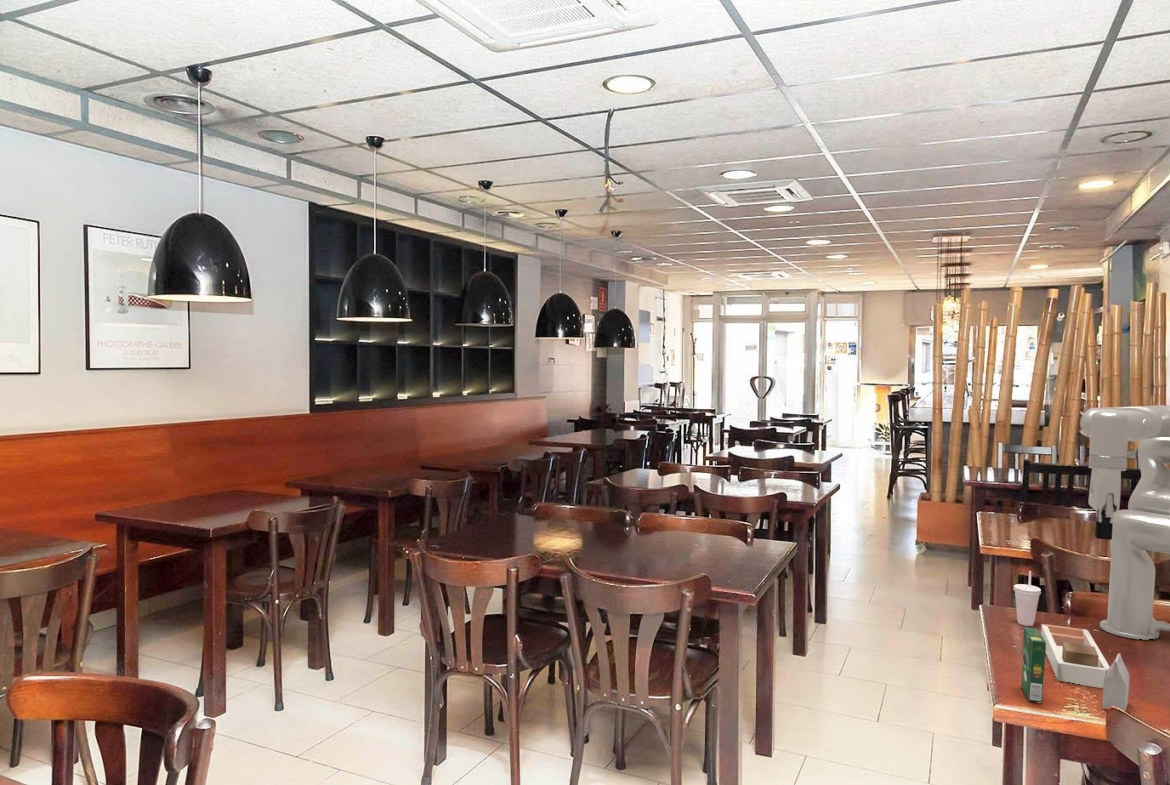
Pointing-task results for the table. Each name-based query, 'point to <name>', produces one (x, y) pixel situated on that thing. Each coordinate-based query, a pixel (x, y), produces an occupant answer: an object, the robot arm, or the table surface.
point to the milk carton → (1116, 685)
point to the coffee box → (1033, 664)
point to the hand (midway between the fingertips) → (1103, 538)
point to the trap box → (1070, 670)
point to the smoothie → (1026, 602)
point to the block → (1080, 654)
